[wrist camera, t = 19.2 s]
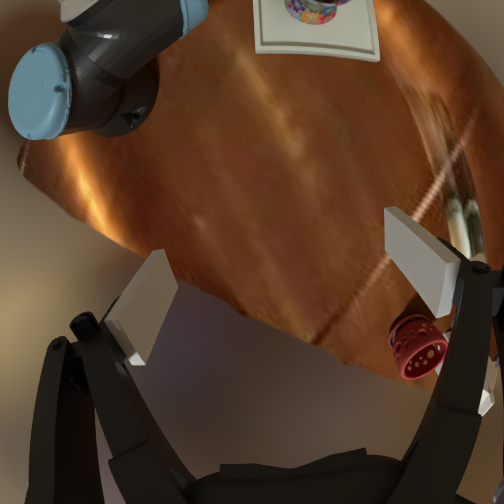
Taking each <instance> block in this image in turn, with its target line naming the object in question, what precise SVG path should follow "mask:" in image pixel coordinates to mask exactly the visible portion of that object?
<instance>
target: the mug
mask: <svg viewBox="0 0 504 504" xmlns="http://www.w3.org/2000/svg"><path fill="white" fill-rule="evenodd" d="M349 1H351V0H285V7H286V9H287V11H288V12H289V14H290V15H291V16H292V17H294V18H295V19H297V20H298V21H300V22H303V23H306V24H311V25H320V24H325V23H327V22H329V21H331V20H332V19H333V18H334V17H335V15H336V12H337V6H340V5H343V4H346V3H348V2H349Z"/></svg>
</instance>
